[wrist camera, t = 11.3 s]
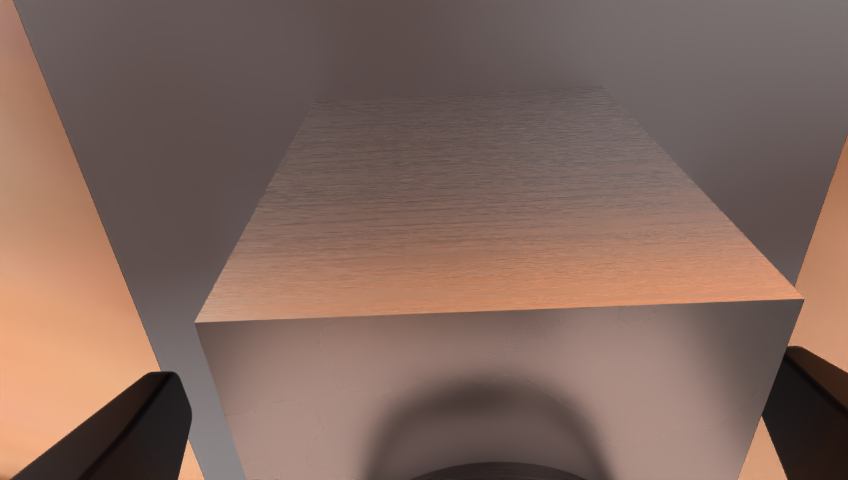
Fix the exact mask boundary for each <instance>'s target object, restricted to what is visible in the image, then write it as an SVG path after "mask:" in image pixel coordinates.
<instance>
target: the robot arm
mask: <svg viewBox="0 0 848 480" xmlns="http://www.w3.org/2000/svg"><path fill="white" fill-rule="evenodd" d="M762 417H763V420H764V422H765V425H766V427H767V430H768V432H769V435H770V437H771V440H772V442H773V445H774V447H775V450H776V452H777V455H778V457H779V459H780V462H781V464H782V467H783V469H784V472H785V474H786V477H787V479H788V480H848V373H847V372H845V371H843V370H842V369H840V368H838V367H836V366H835V365H833V364H831V363H829V362H828V361H826V360H824V359H822V358H821V357H819V356H817V355H815V354H813V353H812V352H810V351H808V350H806V349H804V348H802V347H799V346H787V348H786V351H785V353H784V356H783V359H782V361H781V364H780V367H779V369H778V372H777V375H776V377H775V380H774V383H773V385H772V388H771V391H770V394H769V396H768V399H767V402H766V404H765V407H764V410H763V412H762ZM191 423H192V409H191V405H190V403H189V400H188V397H187V395H186V392H185V389H184V387H183V384H182V381H181V379H180V377H179V375H178V374H177V373H176V372H173V371H162V372H150V373H147V374H146V375H144V376H143V377H141V378H140V379H139V380H137V381H136V382H135V383H134V384H132V385H131V386H130V387H128V388H127V389H126V390H124V391H123V392H122V393H121V394H119V395H118V396H117V397H115V398H114V399H113V400H112V401H110V402H109V403H108V404H106V405H105V406H104V407H103V408H101V409H100V410H99V411H97V412H96V413H95V414H93V415H92V416H91V417H90V418H88V419H87V420H86V421H84V422H83V423H82V424H81V425H79V426H78V427H77V428H75V429H74V430H73V431H72V432H70V433H69V434H68V435H66V436H65V437H64V438H62V439H61V440H60V441H59V442H57V443H56V444H55V445H53V446H52V447H51V448H50V449H48V450H47V451H46V452H44V453H43V454H42V455H41V456H39V457H38V458H37V459H35V460H34V461H33V462H32V463H30V464H29V465H28V466H26V467H25V468H24V469H22V470H21V471H20V472H19V473H17V474H16V475H15V476H13V477H12V478H11V479H10V480H178V477H179V473H180V469H181V464H182V460H183V456H184V452H185V448H186V444H187V440H188V436H189V432H190V428H191Z"/></svg>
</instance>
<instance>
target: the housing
mask: <svg viewBox="0 0 848 480" xmlns="http://www.w3.org/2000/svg"><path fill="white" fill-rule="evenodd" d="M804 299H805V298H804V297H803V296H802V295H801V294H800V293H799V292H798V291H797V290H796V289H795V288H794V287H793V286H792V285H791V284H790V283H789V282H788V281H787V279H786V278H785V277H784V276H783V275H782V274H781V273H780V272H779V271H778V270H777V269H776V268H775V267H774V266H773V265H772V264H771V263H770V262H769V261H768V259H767V258H766V257H765V256H764V255H763V254H762V253H761V252H760V251H759V250H758V249H757V248H756V247H755V246H754V245H753V244H752V243H751V242H750V241H749V240H748V238H747V237H746V236H745V235H744V234H743V233H742V232H741V231H740V230H739V229H738V228H737V227H736V226H735V225H734V224H733V223H732V222H731V221H730V220H729V219H728V217H727V216H726V215H725V214H724V213H723V212H722V211H721V210H720V209H719V208H718V207H717V206H716V205H715V204H714V203H713V202H712V201H711V200H710V199H709V197H708V196H707V195H706V194H705V193H704V192H703V191H702V190H701V189H700V188H699V187H698V186H697V185H696V184H695V183H694V182H693V181H692V180H691V179H690V178H689V176H688V175H687V174H686V173H685V172H684V171H683V170H682V169H681V168H680V167H679V166H678V165H677V164H676V163H675V162H674V161H673V160H672V159H671V158H670V156H669V155H668V154H667V153H666V152H665V151H664V150H663V149H662V148H661V147H660V146H659V145H658V144H657V143H656V142H655V141H654V140H653V139H652V138H651V137H650V135H649V134H648V133H647V132H646V131H645V130H644V129H643V128H642V127H641V126H640V125H639V124H638V123H637V122H636V121H635V120H634V119H633V118H632V117H631V115H630V114H629V113H628V112H627V111H626V110H625V109H624V108H623V107H622V106H621V105H620V104H619V103H618V102H617V101H616V100H615V99H614V98H613V97H612V96H611V94H610V93H609V92H608V91H607V90H606V89H605V88H604V87H595V88H575V89H554V90H534V91H513V92H493V93H472V94H452V95H431V96H411V97H390V98H370V99H350V100H329V101H314V102H313V104H312V106H311V108H310V110H309V112H308V114H307V115H306V117H305V119H304V121H303V123H302V125H301V126H300V128H299V130H298V132H297V134H296V136H295V138H294V139H293V141H292V143H291V145H290V147H289V149H288V150H287V152H286V154H285V156H284V158H283V160H282V161H281V163H280V165H279V167H278V169H277V171H276V173H275V174H274V176H273V178H272V180H271V182H270V184H269V185H268V187H267V189H266V191H265V193H264V195H263V197H262V198H261V200H260V202H259V204H258V206H257V208H256V209H255V211H254V213H253V215H252V217H251V219H250V221H249V222H248V224H247V226H246V228H245V230H244V232H243V233H242V235H241V237H240V239H239V241H238V243H237V244H236V246H235V248H234V250H233V252H232V254H231V256H230V257H229V259H228V261H227V263H226V265H225V267H224V268H223V270H222V272H221V274H220V276H219V278H218V280H217V281H216V283H215V285H214V287H213V289H212V291H211V292H210V294H209V296H208V298H207V300H206V302H205V304H204V305H203V307H202V309H201V311H200V313H199V315H198V316H197V318H196V320H195V322H194V323H195V326H196V329H197V332H198V335H199V338H200V341H201V344H202V347H203V350H204V353H205V356H206V359H207V363H208V366H209V369H210V372H211V375H212V378H213V381H214V384H215V387H216V390H217V393H218V396H219V399H220V402H221V405H222V408H223V411H224V414H225V417H226V420H227V423H228V426H229V429H230V432H231V435H232V438H233V441H234V444H235V447H236V450H237V453H238V456H239V459H240V462H241V465H242V468H243V471H244V474H245V477H246V480H738V477H739V474H740V472H741V469H742V466H743V463H744V461H745V458H746V455H747V453H748V450H749V447H750V445H751V442H752V439H753V437H754V434H755V431H756V428H757V426H758V423H759V420H760V418H761V415H762V412H763V410H764V407H765V404H766V402H767V399H768V396H769V394H770V391H771V388H772V385H773V383H774V380H775V377H776V375H777V372H778V369H779V367H780V364H781V361H782V359H783V356H784V353H785V351H786V348H787V345H788V342H789V340H790V337H791V334H792V332H793V329H794V326H795V324H796V321H797V318H798V316H799V313H800V310H801V308H802V305H803V302H804Z"/></svg>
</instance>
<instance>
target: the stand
mask: <svg viewBox="0 0 848 480" xmlns="http://www.w3.org/2000/svg"><path fill="white" fill-rule="evenodd" d="M13 2H14V4H15V7H16V9H17V12H18V14H19V17H20V19H21V22H22V24H23V27H24V29H25V32H26V34H27V37H28V39H29V42H30V44H31V47H32V49H33V52H34V54H35V57H36V59H37V62H38V64H39V67H40V69H41V72H42V74H43V77H44V79H45V82H46V84H47V87H48V89H49V92H50V94H51V97H52V99H53V102H54V104H55V107H56V109H57V112H58V114H59V117H60V119H61V122H62V124H63V127H64V129H65V132H66V134H67V137H68V139H69V142H70V144H71V147H72V149H73V152H74V154H75V157H76V159H77V162H78V164H79V167H80V169H81V172H82V174H83V177H84V179H85V182H86V184H87V187H88V189H89V192H90V194H91V197H92V199H93V202H94V204H95V207H96V209H97V212H98V214H99V217H100V219H101V222H102V224H103V227H104V229H105V232H106V234H107V237H108V239H109V242H110V244H111V247H112V249H113V252H114V254H115V257H116V259H117V262H118V264H119V267H120V269H121V272H122V274H123V277H124V279H125V282H126V284H127V287H128V289H129V291H130V294H131V296H132V299H133V301H134V304H135V306H136V309H137V311H138V314H139V316H140V319H141V321H142V324H143V326H144V329H145V331H146V334H147V336H148V339H149V341H150V344H151V346H152V349H153V351H154V354H155V356H156V359H157V361H158V364H159V366H160V369H161V371H173V372H176V373H177V374H178V375H179V377H180V379H181V381H182V384H183V387H184V389H185V392H186V395H187V397H188V400H189V403H190V405H191V409H192V423H191V428H190V432H189V436H188V439H189V441H190V444H191V446H192V449H193V451H194V454H195V456H196V459H197V461H198V464H199V466H200V469H201V471H202V474H203V476H204V479H205V480H246V477H245V474H244V471H243V468H242V465H241V462H240V459H239V456H238V453H237V450H236V447H235V444H234V441H233V438H232V435H231V432H230V429H229V426H228V423H227V420H226V417H225V414H224V411H223V408H222V405H221V402H220V399H219V396H218V393H217V390H216V387H215V384H214V381H213V378H212V375H211V372H210V369H209V366H208V363H207V359H206V356H205V353H204V350H203V347H202V344H201V341H200V338H199V335H198V332H197V329H196V326H195V323H194V322H195V320H196V318H197V316H198V315H199V313H200V311H201V309H202V307H203V305H204V304H205V302H206V300H207V298H208V296H209V294H210V292H211V291H212V289H213V287H214V285H215V283H216V281H217V280H218V278H219V276H220V274H221V272H222V270H223V268H224V267H225V265H226V263H227V261H228V259H229V257H230V256H231V254H232V252H233V250H234V248H235V246H236V244H237V243H238V241H239V239H240V237H241V235H242V233H243V232H244V230H245V228H246V226H247V224H248V222H249V221H250V219H251V217H252V215H253V213H254V211H255V209H256V208H257V206H258V204H259V202H260V200H261V198H262V197H263V195H264V193H265V191H266V189H267V187H268V185H269V184H270V182H271V180H272V178H273V176H274V174H275V173H276V171H277V169H278V167H279V165H280V163H281V161H282V160H283V158H284V156H285V154H286V152H287V150H288V149H289V147H290V145H291V143H292V141H293V139H294V138H295V136H296V134H297V132H298V130H299V128H300V126H301V125H302V123H303V121H304V119H305V117H306V115H307V114H308V112H309V110H310V108H311V106H312V104H313V102H314V101H329V100H350V99H370V98H390V97H411V96H431V95H452V94H472V93H493V92H513V91H534V90H554V89H575V88H595V87H604V88H605V89H606V90H607V91H608V92H609V93H610V94H611V96H612V97H613V98H614V99H615V100H616V101H617V102H618V103H619V104H620V105H621V106H622V107H623V108H624V109H625V110H626V111H627V112H628V113H629V114H630V115H631V117H632V118H633V119H634V120H635V121H636V122H637V123H638V124H639V125H640V126H641V127H642V128H643V129H644V130H645V131H646V132H647V133H648V134H649V135H650V137H651V138H652V139H653V140H654V141H655V142H656V143H657V144H658V145H659V146H660V147H661V148H662V149H663V150H664V151H665V152H666V153H667V154H668V155H669V156H670V158H671V159H672V160H673V161H674V162H675V163H676V164H677V165H678V166H679V167H680V168H681V169H682V170H683V171H684V172H685V173H686V174H687V175H688V176H689V178H690V179H691V180H692V181H693V182H694V183H695V184H696V185H697V186H698V187H699V188H700V189H701V190H702V191H703V192H704V193H705V194H706V195H707V196H708V197H709V199H710V200H711V201H712V202H713V203H714V204H715V205H716V206H717V207H718V208H719V209H720V210H721V211H722V212H723V213H724V214H725V215H726V216H727V217H728V219H729V220H730V221H731V222H732V223H733V224H734V225H735V226H736V227H737V228H738V229H739V230H740V231H741V232H742V233H743V234H744V235H745V236H746V237H747V238H748V240H749V241H750V242H751V243H752V244H753V245H754V246H755V247H756V248H757V249H758V250H759V251H760V252H761V253H762V254H763V255H764V256H765V257H766V258H767V259H768V261H769V262H770V263H771V264H772V265H773V266H774V267H775V268H776V269H777V270H778V271H779V272H780V273H781V274H782V275H783V276H784V277H785V278H786V279H787V281H788V282H789V283H790V284H791V285H792V286H793V287H794V286H795V283H796V281H797V278H798V275H799V272H800V269H801V266H802V263H803V260H804V258H805V255H806V252H807V249H808V246H809V243H810V240H811V238H812V235H813V232H814V229H815V226H816V223H817V220H818V217H819V215H820V212H821V209H822V206H823V203H824V200H825V197H826V195H827V192H828V189H829V186H830V183H831V180H832V177H833V175H834V172H835V169H836V166H837V163H838V160H839V157H840V154H841V152H842V149H843V146H844V143H845V140H846V137H847V134H848V0H13Z"/></svg>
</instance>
